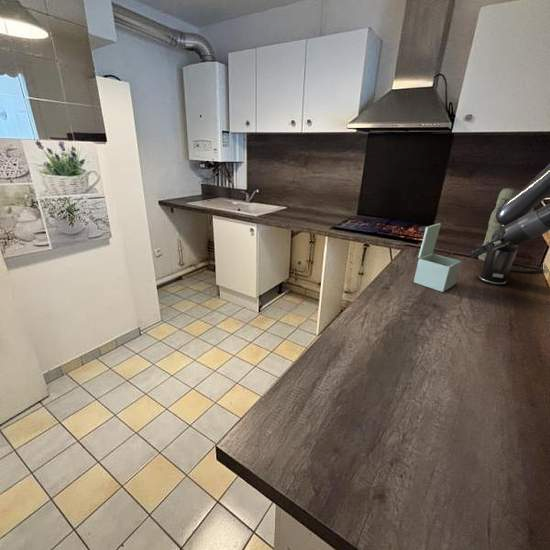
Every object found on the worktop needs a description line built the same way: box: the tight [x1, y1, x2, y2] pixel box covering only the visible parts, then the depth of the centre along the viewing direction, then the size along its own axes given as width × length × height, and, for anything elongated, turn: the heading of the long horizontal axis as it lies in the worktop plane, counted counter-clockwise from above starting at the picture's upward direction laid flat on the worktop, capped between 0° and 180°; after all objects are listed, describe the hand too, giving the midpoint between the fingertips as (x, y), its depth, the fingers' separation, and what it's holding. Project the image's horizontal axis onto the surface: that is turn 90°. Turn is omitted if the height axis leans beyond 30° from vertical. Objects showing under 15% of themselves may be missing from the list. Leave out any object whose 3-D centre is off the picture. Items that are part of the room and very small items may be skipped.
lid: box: [417, 222, 442, 259], centre depth 118 cm, size 12×12×5 cm
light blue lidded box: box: [413, 252, 462, 293], centre depth 117 cm, size 12×12×10 cm
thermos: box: [477, 187, 520, 262], centre depth 141 cm, size 9×12×35 cm
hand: (475, 253), depth 103 cm, fingers open, 8 cm apart
